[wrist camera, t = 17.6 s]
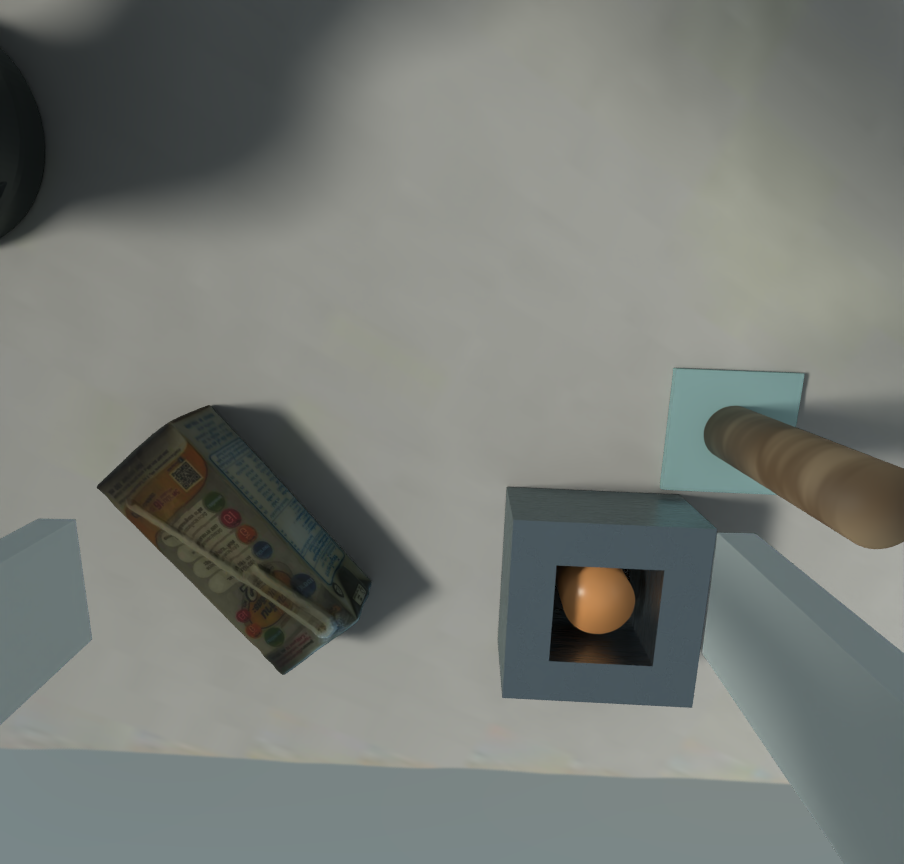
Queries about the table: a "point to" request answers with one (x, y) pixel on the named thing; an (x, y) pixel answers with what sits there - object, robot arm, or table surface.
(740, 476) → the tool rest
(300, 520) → the beverage carton
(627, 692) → the box
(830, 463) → the brown rounded rod
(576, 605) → the button
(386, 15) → the table surface
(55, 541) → the robot arm
